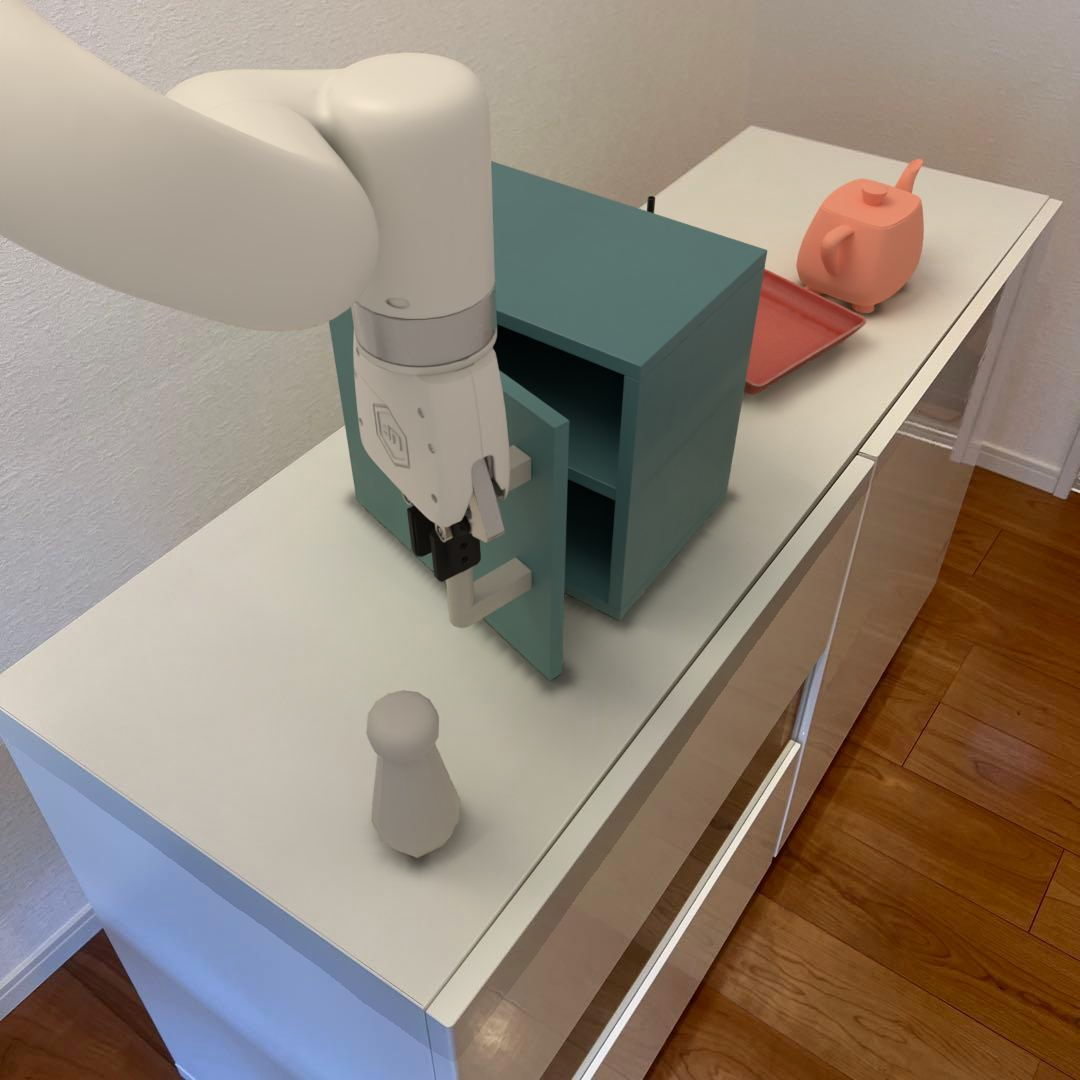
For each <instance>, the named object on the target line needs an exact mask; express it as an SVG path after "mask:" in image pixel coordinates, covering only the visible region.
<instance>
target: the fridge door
mask: <svg viewBox="0 0 1080 1080" xmlns="http://www.w3.org/2000/svg"><path fill="white" fill-rule="evenodd" d="M328 325H329V332H330V339H331V344H332V350H333V358H334V365H335V370H336V376H337V384H338V389H339V395H340V403H341V408H342V409H341V410H342V416H343V421H344V428H345V435H346V442H347V448H348V453H349V461H350V468H351V473H352V480H353V487H354V492H355V500H356V502H358V503H359V504H360V505H361V506H362V507H363V508H364V509H366V511H368V513H370V514H371V515H372V516H373V517H374V518H375V519H376V520H377V521H378V522H379V523H380V524H381V525H382V526H383V527H385V528H386V529H387V531H388V532H390V533H391V534H392V535H393V536H394V537H395V538H396V539H398V541H399V542H401V543H402V545H404V546H405V547H406V548H407V549H408V550H409V551H410V552H411V553H413V551H412V548H411V539H410V531H409V522H408V514H407V508H410V507H412V506H413V504H412V505H408V504H407V503H406V502H405V500H404V498H403V496H402V492H401V491H400V490H399V488H398V487H397V486H396V485H395V484H394V483H393V482H392V481H391V480H390V479H389V478H388V477H387V475H386V474H385V473H384V472H383V471H382V470H381V469H380V468H379V467H378V466H377V464H376V463H375V462H374V461H373V460H372V459H371V457H370V456H369V455H368V453H367V452H366V450H365V448H364V446H363V444H362V441H361V436H360V428H359V420H358V411H357V401H356V390H355V378H354V357H353V341H354V324H353V317H352V310H351V307H350V308H349V309H348V310H346V311H345V312H343V313H342V314H340V315H339V316H337V317H336V318H334V319H332V320H330V321H328ZM499 372H500V378H501V384H502V390H503V396H504V403H505V411H506V420H507V430H508V440H509V455H510V481H509V489H508V493H507V496H506V498H505V500H503V501H501V500H498V499H497V503H498V507H499V510H500V514H501V518H502V521H503V525H504V529H505V533H504V534H503V535H501V536H499V537H497V538H495V539H493V540H491V541H489V542H487V543H485V542H483V541H481V540H480V551H481V560H480V562H479V563H478V564H477V565H475V566H473V567H471V568H469V569H468V570H466V571H464V572H461V573H459V574H457V575H455V576H453V577H451V578H449V579H447V580H445V581H443V583H444V584H446V585H445V586H446V597H447V610H448V619H449V622H450V624H451V625H452V626H453V627H455V628H458V629H465V628H469V627H471V626H472V625H474V624H475V623H477V622H480V621H481V620H482V619H483V620H484V621H485V622H486V623H487V624H489V626H491V627H492V628H493V630H495V631H496V633H498V634H499V635H500V636H501V637H502V638H504V640H506V641H507V642H508V643H509V644H510V645H511V646H512V647H513V648H514V649H515V650H516V651H517V652H518V653H519V654H520V655H522V657H524V658H525V659H526V660H527V661H528V662H529V663H530V664H531V665H532V666H533V667H535V668H536V669H537V671H539V672H540V673H541V674H542V675H543V676H544V677H545V678H546V679H547V680H549V681H550V682H551V681H553V680H554V679H555V678H557V677H558V676H560V675H561V674H562V673H563V650H564V649H563V647H564V619H565V618H564V614H565V593H564V584H565V550H566V516H567V482H568V447H569V420H568V419H566V418H565V417H564V416H562V415H561V414H559V413H558V412H557V411H555V410H554V409H553V408H551V407H550V406H548V405H547V404H546V403H544V402H543V401H541V400H540V399H539V398H537V397H536V396H534V395H533V394H532V393H530V392H529V391H528V390H526V389H525V388H523V387H522V386H521V385H519V384H518V383H516V382H515V381H514V380H512V379H511V378H509V377H508V376H507V375H505V374H504V373H503V372H501V371H500V370H499ZM417 558H418V559H419V560H420V561H421V562H422V563H423V564H424V565H425V566H426V567H427V568H429V569H430V570H431V571H432V573H434V570H433V560H432V552H431V553H429V554H427V555H425V556H423V557H417Z"/></svg>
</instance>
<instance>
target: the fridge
mask: <svg viewBox="0 0 1080 1080" xmlns="http://www.w3.org/2000/svg"><path fill="white" fill-rule="evenodd" d="M491 174H492V205H493V236H494V268H495V286H496V315H497V338H496V341H495V344H494V345H493V349H494V351H495V353H496V358H497V363H498V368H499V370H500V371H501V372H503V373H504V374H505V375H507V376H508V377H509V378H511V379H512V380H514V381H515V382H516V383H518V384H519V385H521V386H522V387H523V388H525V389H526V390H528V391H529V392H530V393H532V394H533V395H534V396H536V397H537V398H539V399H540V400H541V401H543V402H544V403H546V404H547V405H548V406H550V407H551V408H553V409H554V410H555V411H557V412H558V413H559V414H561V415H562V416H564V417H565V418H566V419H568V420H569V447H568V482H567V516H566V550H565V584H564V594H566V595H568V596H570V597H572V598H574V599H576V600H578V601H580V602H582V603H584V604H586V605H588V606H589V607H591V608H593V609H596V610H598V611H599V612H602V613H603V614H605V615H608V616H609V617H612V619H615V620H617V621H621V620H622V619H623V618H624V617H625V616H626V614H627V613H628V612H629V610H631V608H632V607H633V606H634V605H635V604H636V602H637V601H638V600H640V598H641V597H642V596H643V595H644V593H645V592H646V591H647V590H648V588H649V587H650V586H651V585H652V584H653V583H654V581H655V580H656V579H658V577H659V576H660V574H661V573H662V572H663V571H664V570H665V569H666V568H667V567H668V565H669V564H671V562H672V561H673V560H674V558H675V557H676V556H677V555H678V554H679V552H680V551H681V550H682V549H683V548H684V547H685V546H686V544H687V543H688V542H689V541H690V540H691V538H693V536H695V534H696V533H697V531H698V530H699V529H700V528H701V527H702V526H703V524H705V522H706V521H708V519H709V518H710V517H711V516H712V514H713V513H714V512H715V511H716V509H717V508H718V507H719V506H720V505H721V504H722V503H723V502H724V500H725V499H726V498H727V495H728V488H729V484H730V483H729V482H730V476H731V471H732V465H733V459H734V452H735V447H736V441H737V435H738V429H739V424H740V417H741V411H742V406H743V400H744V399H743V398H744V394H745V392H744V388H745V382H746V376H747V370H748V364H749V358H750V352H751V346H752V341H753V335H754V329H755V323H756V317H757V311H758V305H759V299H760V293H761V287H762V281H763V275H764V269H766V261H767V255H768V249H766V248H762V247H760V246H756V245H753V244H749V243H747V242H744V241H741V240H739V239H735V238H731V237H729V236H725V235H722V234H719V233H716V232H713V231H710V230H707V229H703V228H702V227H701V228H700V227H697V226H694V225H691V224H689V223H685V222H682V221H678V220H675V219H673V218H669V217H666V216H663V215H660V214H657V213H655V212H654V213H651V212H648V211H647V210H645V209H642V208H638V207H635V206H632V205H629V204H626V203H622V202H620V201H616V200H613V199H610V198H607V197H604V196H601V195H598V194H595V193H593V192H589V191H585V190H583V189H579V188H576V187H574V186H570V185H567V184H563V183H561V182H558V181H555V180H551V179H549V178H546V177H543V176H539V175H536V174H533V173H530V172H527V171H524V170H520V169H517V168H514V167H511V166H509V165H505V164H502V163H499V162H496V161H493V160H491Z"/></svg>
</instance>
